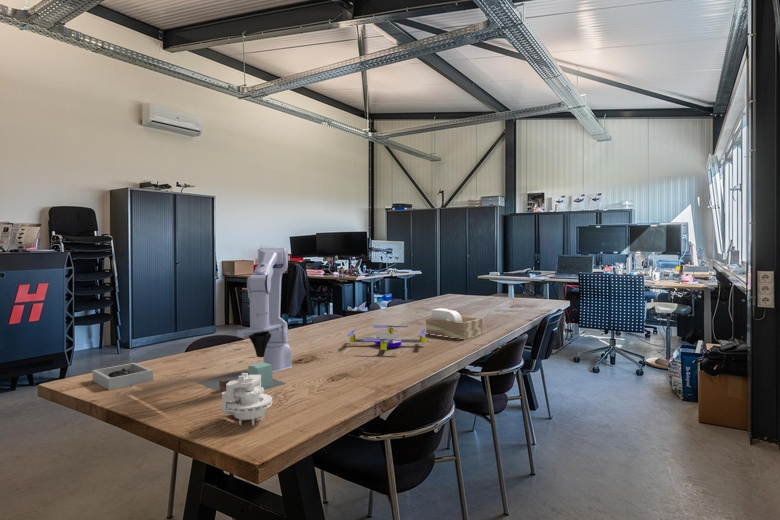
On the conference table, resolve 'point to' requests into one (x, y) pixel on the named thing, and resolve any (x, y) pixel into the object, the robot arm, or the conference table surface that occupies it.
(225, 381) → the brown cube
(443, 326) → the plywood crate
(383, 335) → the quadcopter drone
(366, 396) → the conference table surface
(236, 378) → the mat
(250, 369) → the pale aqua cube
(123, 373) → the game controller
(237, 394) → the mechanical part
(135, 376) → the gray hollow frame
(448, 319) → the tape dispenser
